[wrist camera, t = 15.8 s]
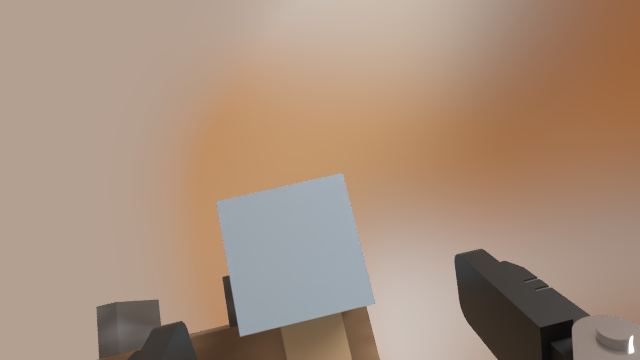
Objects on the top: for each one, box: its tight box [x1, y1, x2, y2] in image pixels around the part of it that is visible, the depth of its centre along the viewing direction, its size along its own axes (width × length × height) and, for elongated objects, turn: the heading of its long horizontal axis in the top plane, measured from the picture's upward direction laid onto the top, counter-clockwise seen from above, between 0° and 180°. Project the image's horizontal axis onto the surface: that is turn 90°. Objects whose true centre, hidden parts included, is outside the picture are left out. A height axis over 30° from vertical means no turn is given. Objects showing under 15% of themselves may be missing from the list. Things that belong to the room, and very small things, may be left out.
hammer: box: [217, 173, 375, 360], centre depth 19 cm, size 6×17×7 cm
